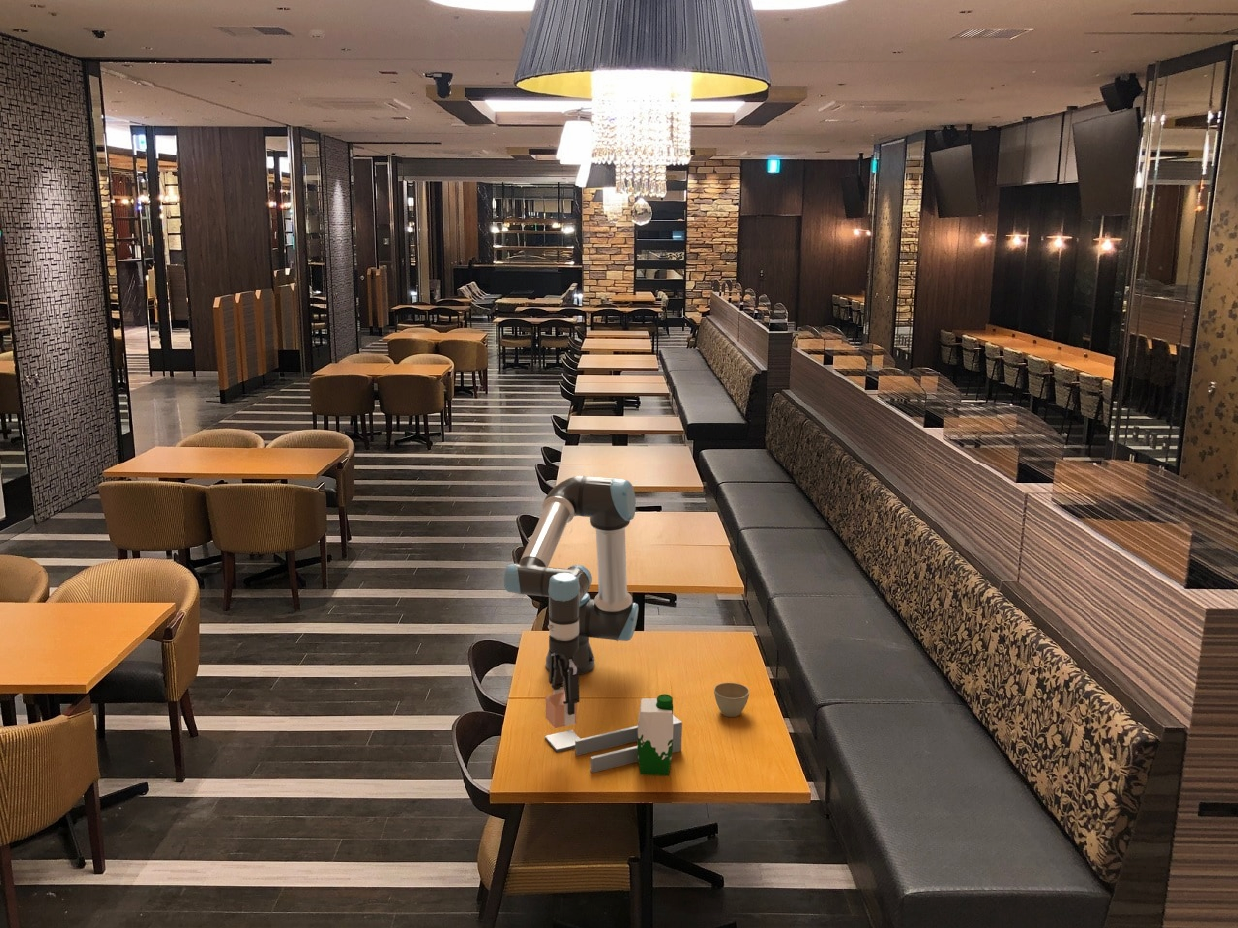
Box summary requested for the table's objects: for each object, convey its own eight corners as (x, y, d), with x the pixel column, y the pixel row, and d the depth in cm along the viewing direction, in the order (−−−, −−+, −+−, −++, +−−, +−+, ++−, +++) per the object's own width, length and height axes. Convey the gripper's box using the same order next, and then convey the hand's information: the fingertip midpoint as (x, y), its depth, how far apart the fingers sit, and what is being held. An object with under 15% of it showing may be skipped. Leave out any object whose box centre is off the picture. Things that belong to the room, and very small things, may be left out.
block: (545, 717, 268) (545, 696, 267) (566, 712, 271) (567, 691, 269) (555, 728, 263) (555, 706, 262) (576, 723, 266) (576, 701, 264)
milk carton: (672, 778, 264) (674, 706, 259) (636, 777, 264) (638, 704, 259) (672, 760, 272) (674, 690, 267) (637, 759, 272) (638, 689, 268)
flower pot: (752, 709, 300) (753, 686, 298) (741, 724, 291) (742, 700, 289) (719, 701, 304) (720, 679, 302) (708, 716, 295) (708, 693, 293)
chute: (575, 753, 274) (575, 724, 272) (661, 733, 285) (662, 705, 283) (592, 772, 265) (592, 743, 263) (681, 750, 276) (681, 722, 274)
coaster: (544, 738, 281) (544, 735, 281) (572, 732, 285) (572, 729, 285) (556, 752, 274) (556, 749, 274) (584, 745, 278) (584, 742, 278)
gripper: (535, 623, 268) (536, 705, 274) (566, 652, 252) (565, 738, 257) (562, 618, 271) (562, 699, 277) (594, 646, 255) (593, 732, 261)
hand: (563, 718), depth 267 cm, fingers closed on block, 6 cm apart
